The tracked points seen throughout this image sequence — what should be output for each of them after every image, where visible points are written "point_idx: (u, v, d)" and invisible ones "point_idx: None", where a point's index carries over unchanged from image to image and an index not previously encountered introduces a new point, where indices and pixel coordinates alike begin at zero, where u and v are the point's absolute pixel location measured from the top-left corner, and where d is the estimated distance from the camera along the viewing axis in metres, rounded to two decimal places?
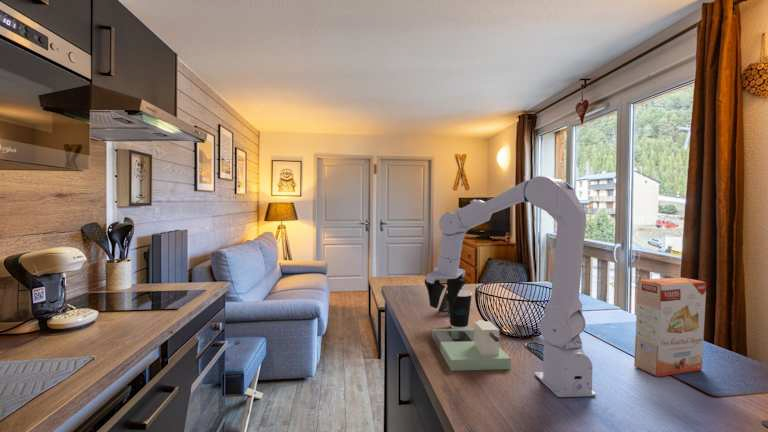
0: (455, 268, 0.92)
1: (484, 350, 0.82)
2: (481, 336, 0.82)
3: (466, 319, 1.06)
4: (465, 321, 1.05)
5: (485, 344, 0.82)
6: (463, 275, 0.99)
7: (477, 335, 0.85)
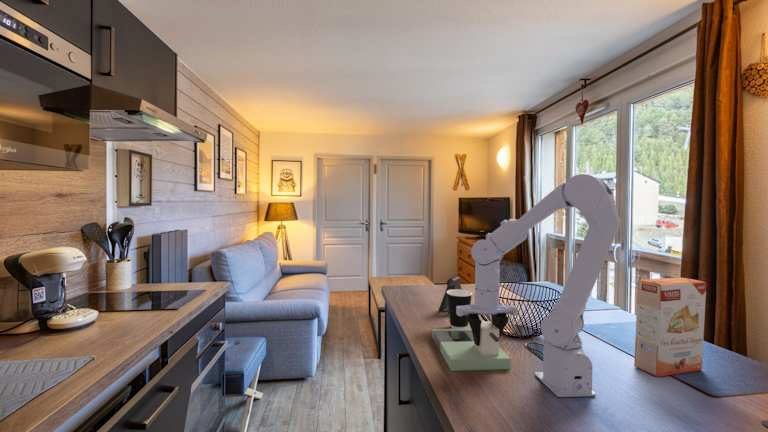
0: (488, 301, 0.82)
1: (484, 350, 0.82)
2: (481, 336, 0.82)
3: (466, 319, 1.06)
4: (465, 321, 1.05)
5: (485, 344, 0.82)
6: (514, 313, 0.84)
7: None
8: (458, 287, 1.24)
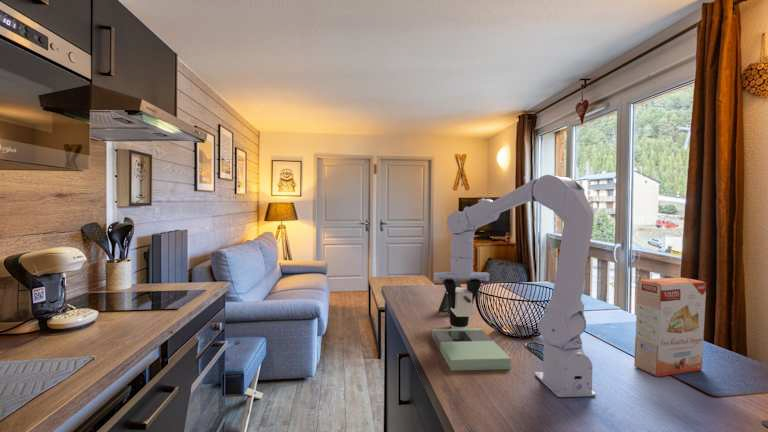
0: (462, 267, 0.90)
1: (458, 312, 0.90)
2: (456, 299, 0.90)
3: (466, 319, 1.06)
4: (465, 321, 1.05)
5: (459, 306, 0.90)
6: (487, 279, 0.92)
7: None
8: None
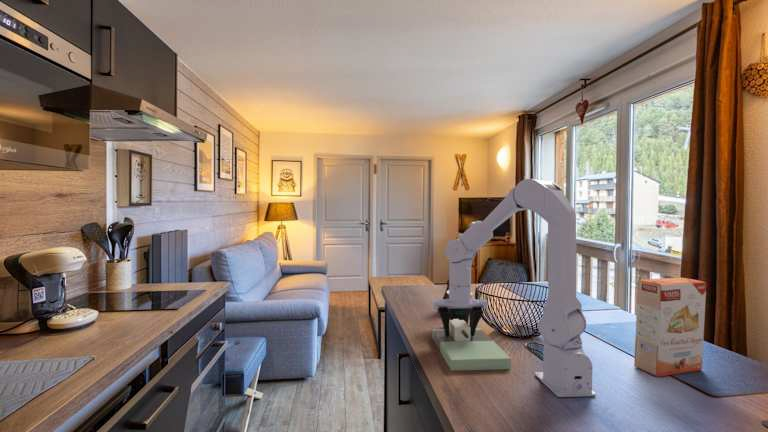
0: (460, 296, 0.91)
1: None
2: (454, 333, 0.91)
3: (466, 319, 1.06)
4: (465, 321, 1.05)
5: (457, 340, 0.90)
6: (485, 307, 0.93)
7: (451, 332, 0.94)
8: None
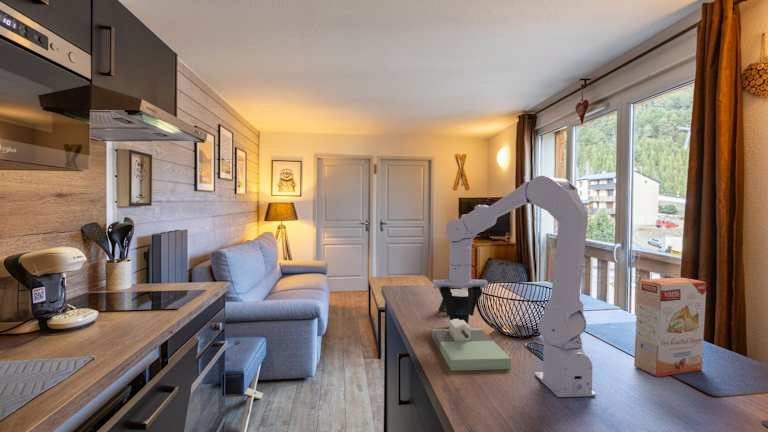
0: (461, 275, 0.90)
1: None
2: (454, 333, 0.91)
3: (466, 319, 1.06)
4: (465, 321, 1.05)
5: (457, 340, 0.90)
6: (485, 286, 0.93)
7: (451, 332, 0.94)
8: None
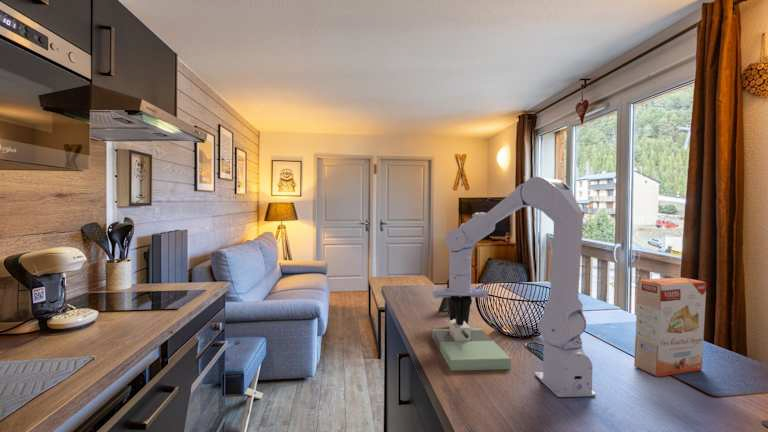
0: (461, 285, 0.90)
1: None
2: (454, 333, 0.91)
3: (466, 319, 1.06)
4: (465, 321, 1.05)
5: (457, 340, 0.90)
6: (485, 296, 0.93)
7: (451, 332, 0.94)
8: None
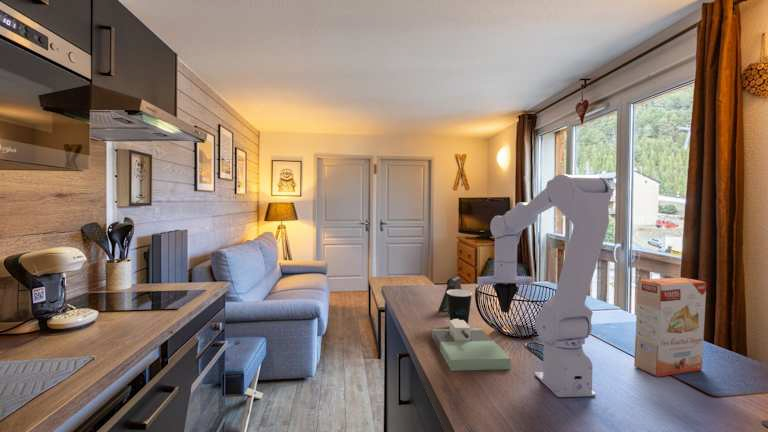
0: (507, 272, 0.90)
1: None
2: (454, 333, 0.91)
3: (466, 319, 1.06)
4: (465, 321, 1.05)
5: (457, 340, 0.90)
6: (530, 283, 0.93)
7: (451, 332, 0.94)
8: (458, 287, 1.24)
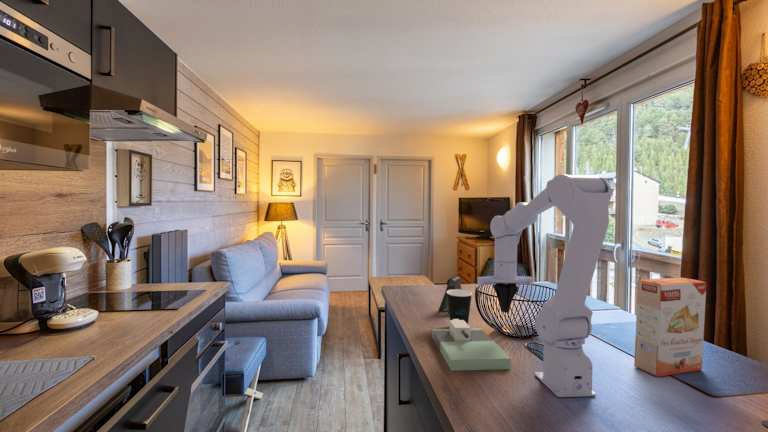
0: (507, 272, 0.90)
1: None
2: (454, 333, 0.91)
3: (466, 319, 1.06)
4: (465, 321, 1.05)
5: (457, 340, 0.90)
6: (530, 283, 0.93)
7: (451, 332, 0.94)
8: (458, 287, 1.24)
